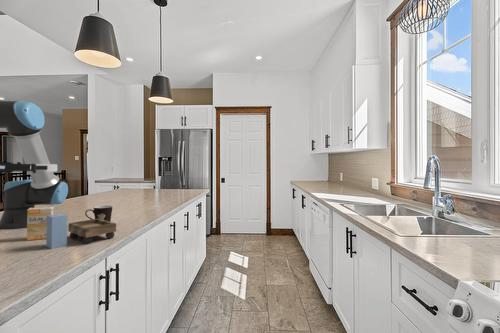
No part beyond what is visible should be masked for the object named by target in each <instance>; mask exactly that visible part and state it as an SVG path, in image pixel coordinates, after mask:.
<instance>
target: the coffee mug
mask: <svg viewBox="0 0 500 333" xmlns="http://www.w3.org/2000/svg"><path fill="white" fill-rule="evenodd" d="M89 211H91V212H92V213H93V215H94V219H101V220H105V221H109V222H112V220H111V219H112V213H113V205H106V204H105V205H104V204H103V205H95V206H93V209H87V210H85V213H84V214H85V217H87V218H88V220H92V219H93V218H92V217H90V216H89V215H88V214H87V212H89Z"/></svg>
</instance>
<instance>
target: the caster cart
mask: <svg viewBox="0 0 500 333" xmlns="http://www.w3.org/2000/svg"><path fill="white" fill-rule="evenodd" d="M67 232H69V237H70V238H71V239H73V240H74V239H77V238H78V237H83V238H82V242H83V243H84V244H86V245H88V244H89V245H90V244H91V243H92V242H93V237H96V236H100V235H105V238H106V239H109V240H111V239H113V238H115V233H116V232H117V223H115V222H112V221H110V222H109V221H105V220H101V219H95V218H92V220H91V219H86V220H81V221H75V222H73V221H72V222H68V226H67Z"/></svg>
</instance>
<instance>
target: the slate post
mask: <svg viewBox="0 0 500 333" xmlns="http://www.w3.org/2000/svg"><path fill="white" fill-rule="evenodd" d="M66 245H67V246H68V215H67V214H64V213H58V214H57V213H55V214H54V215H47V239H46V247H47V248H49V249H51V250H54V249H57V248H63V247H67V246H66ZM62 246H63V247H62ZM53 248H54V249H53Z"/></svg>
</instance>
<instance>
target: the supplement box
mask: <svg viewBox="0 0 500 333" xmlns="http://www.w3.org/2000/svg"><path fill="white" fill-rule="evenodd" d="M54 210H55V207H54V206H50V207H49V206H47V207H45V206H43V207H35V208H29V209H28V212H27V227H26V241H36V240H38V241H39V240H47V215H55V214H54Z"/></svg>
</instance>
